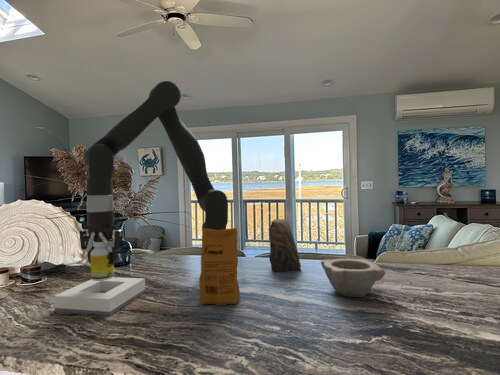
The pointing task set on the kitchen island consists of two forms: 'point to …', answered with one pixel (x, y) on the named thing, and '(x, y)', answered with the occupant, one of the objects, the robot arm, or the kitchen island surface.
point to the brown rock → (283, 248)
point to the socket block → (99, 296)
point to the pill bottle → (100, 263)
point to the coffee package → (219, 267)
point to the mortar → (352, 275)
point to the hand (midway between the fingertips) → (102, 263)
